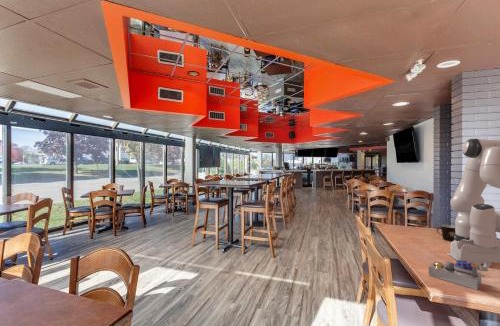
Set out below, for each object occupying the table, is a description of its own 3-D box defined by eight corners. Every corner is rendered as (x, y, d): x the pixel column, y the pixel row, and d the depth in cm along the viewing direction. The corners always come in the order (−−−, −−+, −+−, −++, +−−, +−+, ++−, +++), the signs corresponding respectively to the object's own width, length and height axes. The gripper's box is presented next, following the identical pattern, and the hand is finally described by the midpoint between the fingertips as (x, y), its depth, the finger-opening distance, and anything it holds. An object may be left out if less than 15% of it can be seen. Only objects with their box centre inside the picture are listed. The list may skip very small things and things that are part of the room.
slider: (473, 273, 114) (473, 262, 114) (477, 274, 113) (477, 263, 113) (472, 275, 112) (472, 264, 112) (476, 276, 111) (476, 265, 111)
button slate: (447, 268, 122) (447, 261, 122) (454, 270, 119) (454, 263, 119) (445, 270, 120) (445, 263, 120) (453, 272, 117) (453, 265, 117)
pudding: (462, 266, 134) (462, 256, 134) (486, 276, 122) (486, 266, 122) (443, 267, 132) (443, 258, 132) (465, 278, 120) (465, 267, 120)
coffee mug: (454, 239, 180) (455, 225, 180) (457, 242, 173) (457, 228, 173) (435, 236, 186) (435, 223, 186) (436, 239, 179) (436, 226, 179)
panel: (434, 270, 128) (434, 261, 128) (481, 283, 114) (481, 273, 114) (428, 275, 122) (428, 266, 122) (477, 290, 108) (477, 279, 108)
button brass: (436, 268, 125) (436, 261, 125) (443, 270, 123) (443, 263, 123) (434, 269, 123) (434, 263, 123) (441, 272, 121) (441, 264, 121)
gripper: (462, 241, 109) (462, 272, 109) (514, 243, 106) (514, 275, 106) (452, 237, 115) (452, 266, 115) (501, 239, 112) (501, 269, 112)
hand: (482, 270), depth 111 cm, fingers closed
